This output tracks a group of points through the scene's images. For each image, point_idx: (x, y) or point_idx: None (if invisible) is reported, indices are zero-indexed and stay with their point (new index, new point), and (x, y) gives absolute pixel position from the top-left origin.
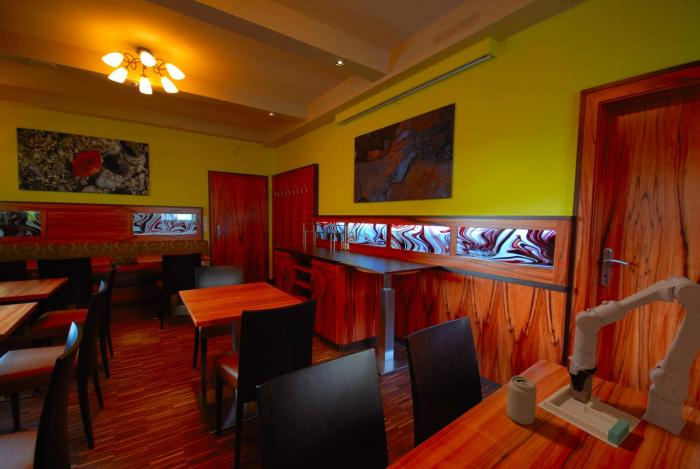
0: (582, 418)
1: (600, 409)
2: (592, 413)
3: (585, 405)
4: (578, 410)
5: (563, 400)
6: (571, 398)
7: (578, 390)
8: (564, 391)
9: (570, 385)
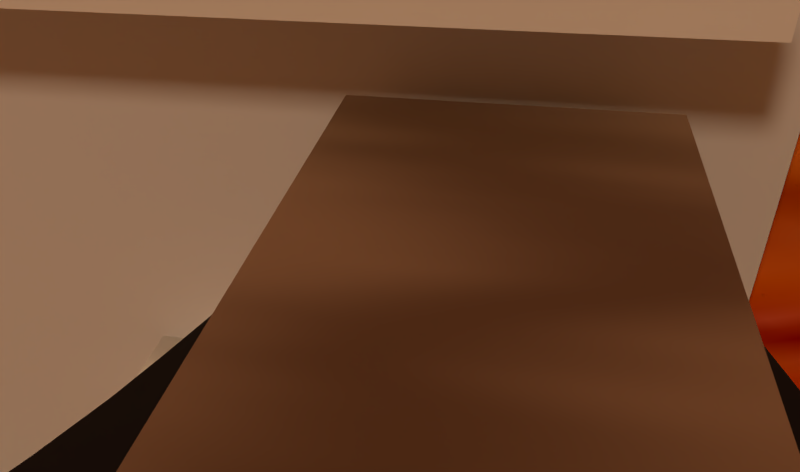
0: (14, 357)
1: None
2: None
3: None
4: (123, 288)
5: (143, 46)
6: None
7: None
8: (292, 14)
9: (273, 228)
